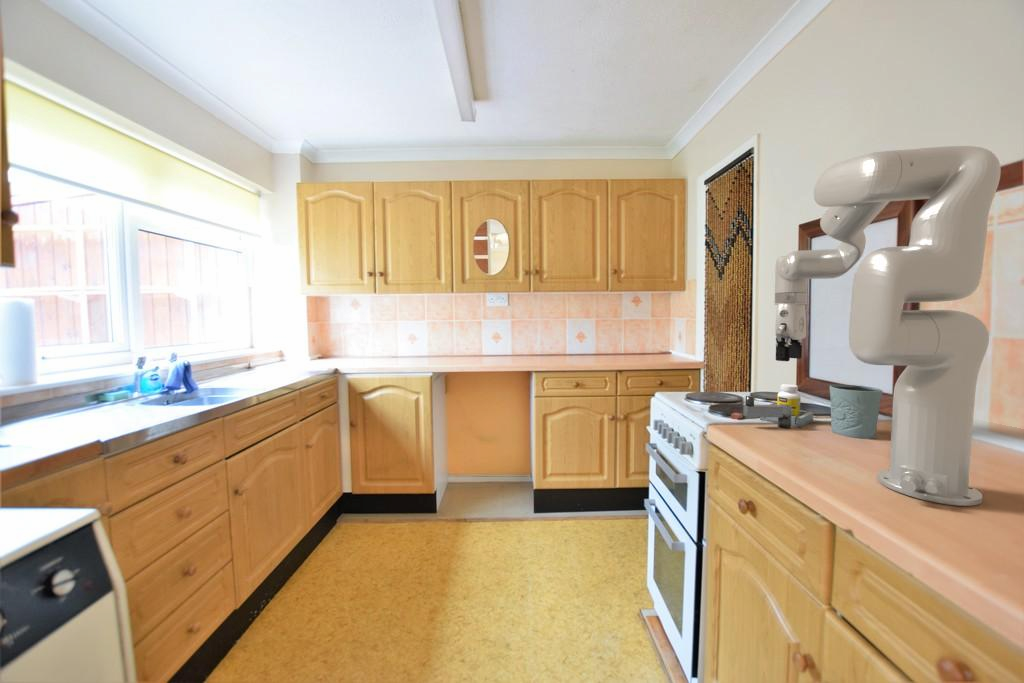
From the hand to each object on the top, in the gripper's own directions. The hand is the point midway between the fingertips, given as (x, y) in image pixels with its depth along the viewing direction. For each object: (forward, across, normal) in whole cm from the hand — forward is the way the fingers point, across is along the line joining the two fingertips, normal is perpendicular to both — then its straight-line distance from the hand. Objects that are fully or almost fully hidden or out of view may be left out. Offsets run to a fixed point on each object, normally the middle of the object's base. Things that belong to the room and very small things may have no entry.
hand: (788, 359), depth 111 cm
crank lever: (+15, -11, +1) cm, 19 cm away
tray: (+18, 0, 0) cm, 18 cm away
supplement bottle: (+17, 0, 0) cm, 17 cm away
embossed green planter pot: (+18, -1, -15) cm, 23 cm away
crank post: (+18, -8, +4) cm, 20 cm away
